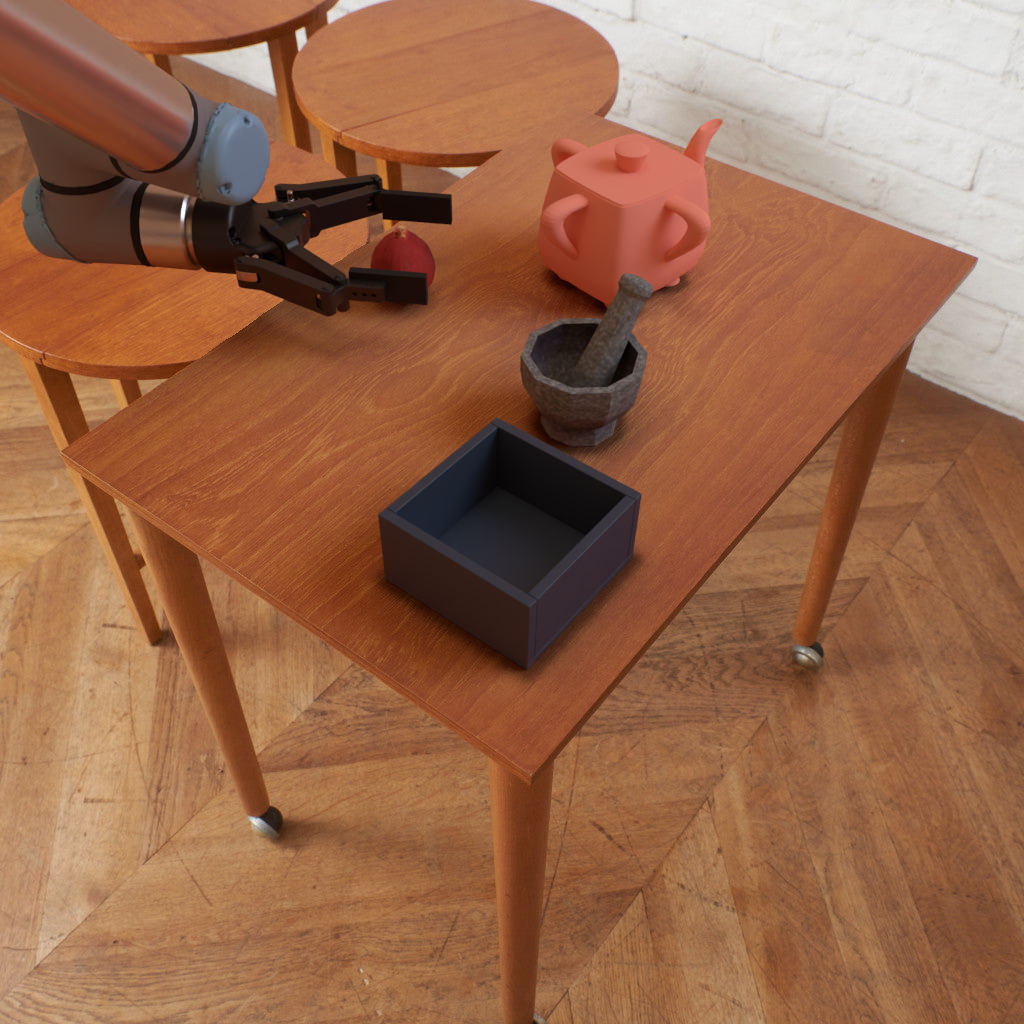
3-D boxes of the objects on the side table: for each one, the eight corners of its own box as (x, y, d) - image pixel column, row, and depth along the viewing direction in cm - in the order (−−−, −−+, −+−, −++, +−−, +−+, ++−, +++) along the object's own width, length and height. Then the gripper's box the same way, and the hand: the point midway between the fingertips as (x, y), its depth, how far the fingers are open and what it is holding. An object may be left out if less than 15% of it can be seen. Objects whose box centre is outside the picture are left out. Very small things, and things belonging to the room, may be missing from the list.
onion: (368, 289, 98) (360, 212, 93) (427, 279, 100) (423, 203, 94) (381, 324, 95) (374, 247, 89) (443, 314, 96) (440, 237, 90)
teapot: (536, 321, 95) (542, 189, 86) (537, 229, 106) (542, 102, 97) (720, 327, 95) (746, 195, 86) (702, 233, 106) (724, 107, 97)
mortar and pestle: (571, 479, 81) (581, 354, 72) (496, 416, 86) (496, 293, 77) (674, 419, 86) (694, 296, 78) (596, 363, 91) (608, 242, 82)
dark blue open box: (526, 670, 69) (529, 607, 64) (384, 579, 74) (377, 514, 69) (632, 558, 76) (642, 493, 71) (496, 481, 81) (496, 416, 76)
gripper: (250, 197, 105) (461, 213, 104) (165, 345, 88) (416, 366, 87) (237, 126, 100) (460, 142, 98) (144, 268, 83) (411, 290, 81)
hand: (440, 247), depth 93 cm, fingers open, 12 cm apart
